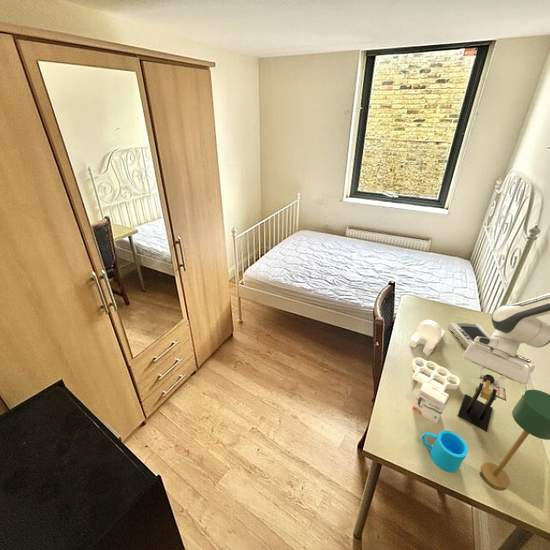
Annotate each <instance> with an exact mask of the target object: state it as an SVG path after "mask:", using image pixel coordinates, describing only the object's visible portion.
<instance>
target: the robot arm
mask: <svg viewBox="0 0 550 550" xmlns="http://www.w3.org/2000/svg"><path fill="white" fill-rule="evenodd" d="M549 314H550V292H548V293H544V294H542V295H539V296H538V295H537V296H535V297H532V298H529V299H525V300H523V301H519V302H515V303H507V304H503V305H500V306H498V307H496V308H495V309H494V311H492V314H491V323H492V326H493V328H494V331H493V333H492V334H490V335H491V337H490V338H486V337H476V338H475V339H474V342H473V343H471V344H470V345H469V346H468V347H467V349H466V348H465V351H464V352H463V354H462V358H463V359H464V360H466V361H469V362H470V363H473V364H475V365H477V366H478V367H477V370H478V376H477V379H480V380H483V377H484V376H485V374H483V372H482V370H484V369H486V370H488V371H489V372H490V371H491V372H492V373H495V374H498V375H500V376H499V379H498V380H496V379H494V380H495V381H494V383H493V384H492V385H494V386H496V387H498V386H499V385H500V384H501V383H502V382H503V381H505V380H506V379H509V380H511V381H512V382H515V383H517V384H520V385H527V384H528V383H529V380H530V377H531V374H532V373H533V372H534V370H535V364H534V362H532V360H530V359H529V358H526V357H524V356H522V355H519V354H517V353H518V351H519V349H520V345H521V344H524V345H526V346H529V347H533V348H543V347H545V346H547V345H549V343H550V324H548V323H547V322H545V321H543V320H542V319H540V318H538V317H542V316H547V315H549Z"/></svg>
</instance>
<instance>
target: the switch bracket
mask: <svg viewBox="0 0 550 550" xmlns="http://www.w3.org/2000/svg"><path fill="white" fill-rule="evenodd" d="M482 387H483V384H482V382H479V384H478V386H477V387H475V389H474V393H473V394H472V396H470V395H469V394H466V393H465V394H464V396H463V399H462V402H461V405H460V406H459V407H460V408H459V410H458V413H457V417H458V418H461V419H462V420H464V421H465V422H467V423H469V424H470V425H473V426H475V427H477V428H478V429H480V430H482V431H484V432H485V433H487V432H488V429H489V425H490V423H491V417H492V413H493V410H494V408H493V407H492V405H493V403H494V401H496V400H497V398H498V397H496V392H497V390H495V389H493V391H492V392H491V394H490V396H489V398H488V400H486V401H485V403H484V402H483V401H480V400H479V397H480V395H481V392H482Z"/></svg>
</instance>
